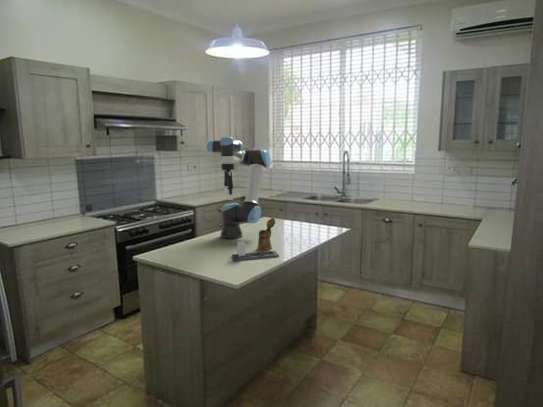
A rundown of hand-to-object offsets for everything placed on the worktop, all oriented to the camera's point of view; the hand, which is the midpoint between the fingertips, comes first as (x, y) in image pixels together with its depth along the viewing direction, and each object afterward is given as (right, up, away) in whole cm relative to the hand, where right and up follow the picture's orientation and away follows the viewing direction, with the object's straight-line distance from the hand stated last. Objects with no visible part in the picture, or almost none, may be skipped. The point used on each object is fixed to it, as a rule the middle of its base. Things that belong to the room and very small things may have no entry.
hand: (228, 198), depth 237 cm
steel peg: (+9, -34, -14) cm, 38 cm away
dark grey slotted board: (+16, -34, -12) cm, 40 cm away
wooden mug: (+23, -31, +6) cm, 39 cm away
